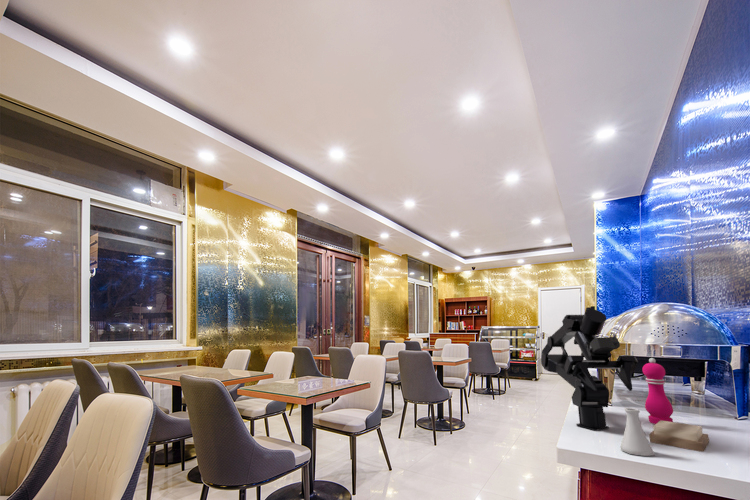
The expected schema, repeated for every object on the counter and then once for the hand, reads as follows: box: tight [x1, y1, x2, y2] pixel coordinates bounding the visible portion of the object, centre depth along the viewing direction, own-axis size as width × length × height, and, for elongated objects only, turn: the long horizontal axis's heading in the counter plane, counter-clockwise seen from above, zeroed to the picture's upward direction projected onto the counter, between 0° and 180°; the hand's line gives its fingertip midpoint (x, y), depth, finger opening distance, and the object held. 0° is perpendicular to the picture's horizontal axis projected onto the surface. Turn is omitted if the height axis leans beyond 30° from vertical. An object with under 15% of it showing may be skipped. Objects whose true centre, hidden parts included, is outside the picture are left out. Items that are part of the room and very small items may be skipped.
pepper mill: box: [642, 357, 674, 425], centre depth 123 cm, size 7×7×20 cm
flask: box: [620, 407, 656, 457], centre depth 95 cm, size 7×7×10 cm
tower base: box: [648, 420, 710, 453], centre depth 102 cm, size 11×11×4 cm
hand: (613, 389), depth 104 cm, fingers open, 9 cm apart
